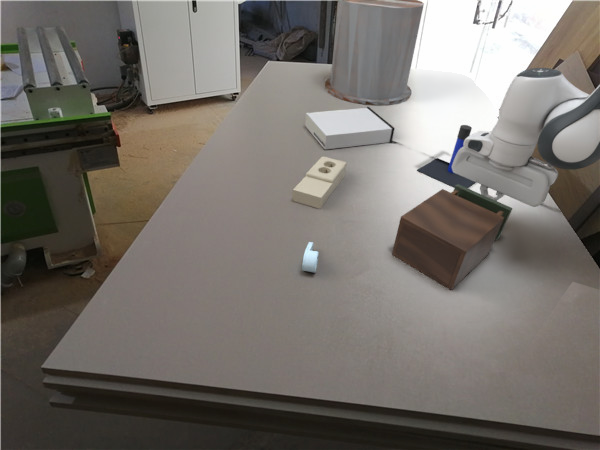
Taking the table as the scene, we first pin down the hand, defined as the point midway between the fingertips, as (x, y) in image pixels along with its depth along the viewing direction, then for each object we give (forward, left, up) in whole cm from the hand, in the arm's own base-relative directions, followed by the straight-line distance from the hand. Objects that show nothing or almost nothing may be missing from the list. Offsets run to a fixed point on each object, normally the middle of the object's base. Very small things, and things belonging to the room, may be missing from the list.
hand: (487, 204), depth 92 cm
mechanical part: (+16, +41, -4) cm, 44 cm away
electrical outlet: (+34, +19, -4) cm, 39 cm away
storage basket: (+74, -51, -4) cm, 90 cm away
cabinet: (0, +19, -4) cm, 20 cm away
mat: (+16, -15, -4) cm, 22 cm away
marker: (+16, -15, -4) cm, 22 cm away
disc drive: (+51, -11, -4) cm, 52 cm away
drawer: (0, +10, -3) cm, 11 cm away
